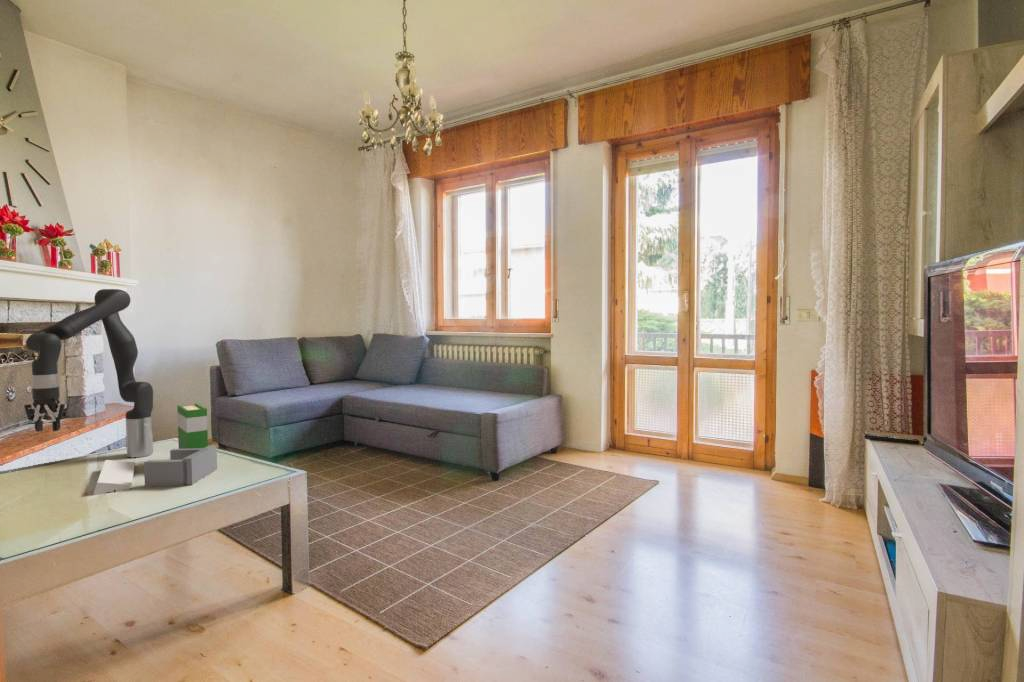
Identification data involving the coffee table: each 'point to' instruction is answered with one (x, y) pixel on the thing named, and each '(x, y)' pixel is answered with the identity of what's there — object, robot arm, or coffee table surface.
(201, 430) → the hardback book
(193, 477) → the end cap
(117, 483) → the decorative molding
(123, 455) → the coffee table surface
